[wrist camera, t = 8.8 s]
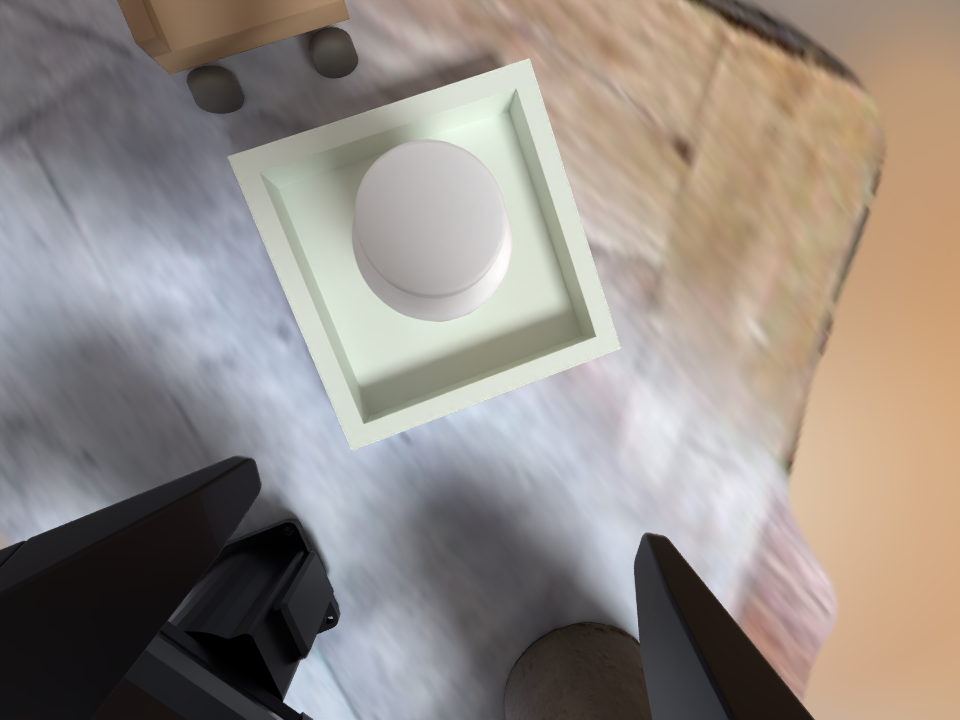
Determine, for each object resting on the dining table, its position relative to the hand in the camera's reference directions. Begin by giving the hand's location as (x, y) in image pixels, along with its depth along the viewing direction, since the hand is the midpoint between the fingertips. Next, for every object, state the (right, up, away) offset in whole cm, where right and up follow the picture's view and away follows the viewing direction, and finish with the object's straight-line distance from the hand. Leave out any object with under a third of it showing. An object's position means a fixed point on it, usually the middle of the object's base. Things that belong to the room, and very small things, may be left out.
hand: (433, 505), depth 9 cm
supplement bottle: (-1, +8, +11) cm, 14 cm away
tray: (-1, +8, +12) cm, 14 cm away
